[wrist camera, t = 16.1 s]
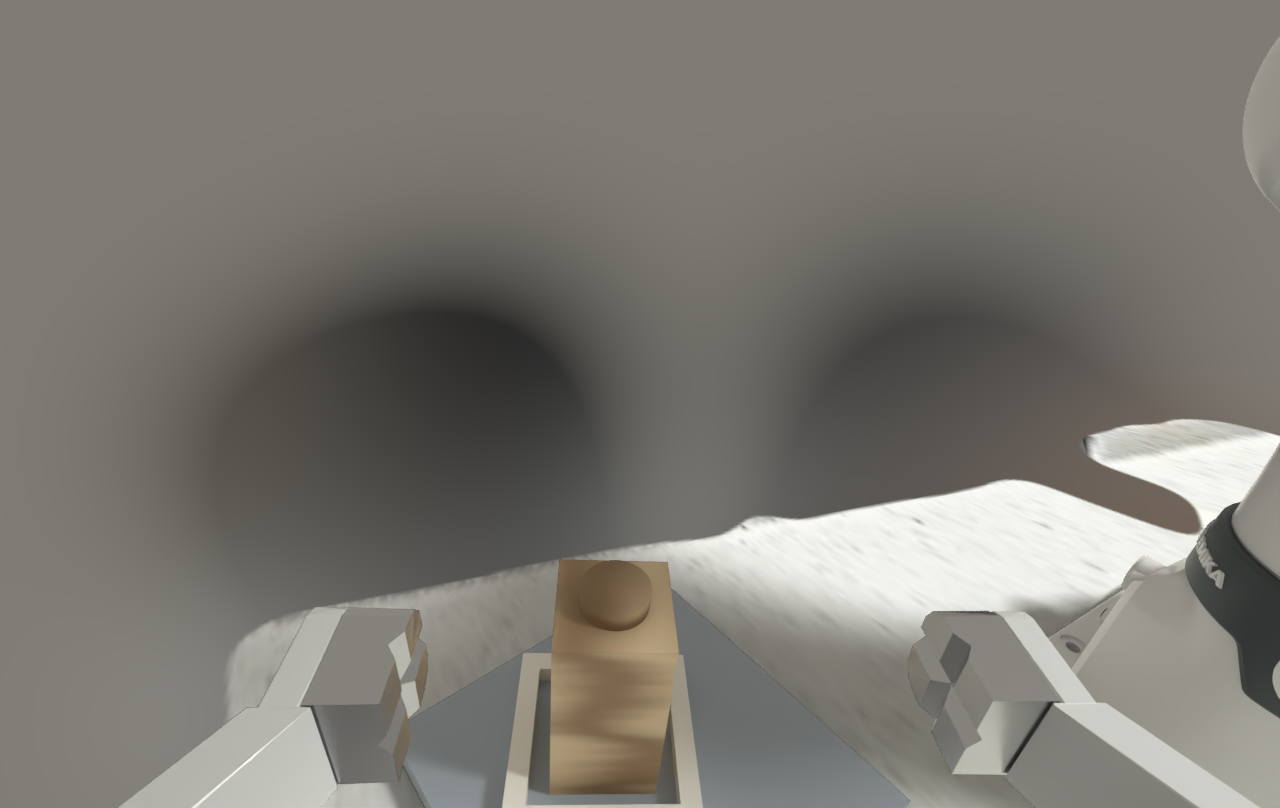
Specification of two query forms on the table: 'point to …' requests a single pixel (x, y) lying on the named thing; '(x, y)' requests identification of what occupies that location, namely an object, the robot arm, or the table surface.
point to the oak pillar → (611, 676)
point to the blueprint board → (723, 735)
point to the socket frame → (524, 725)
